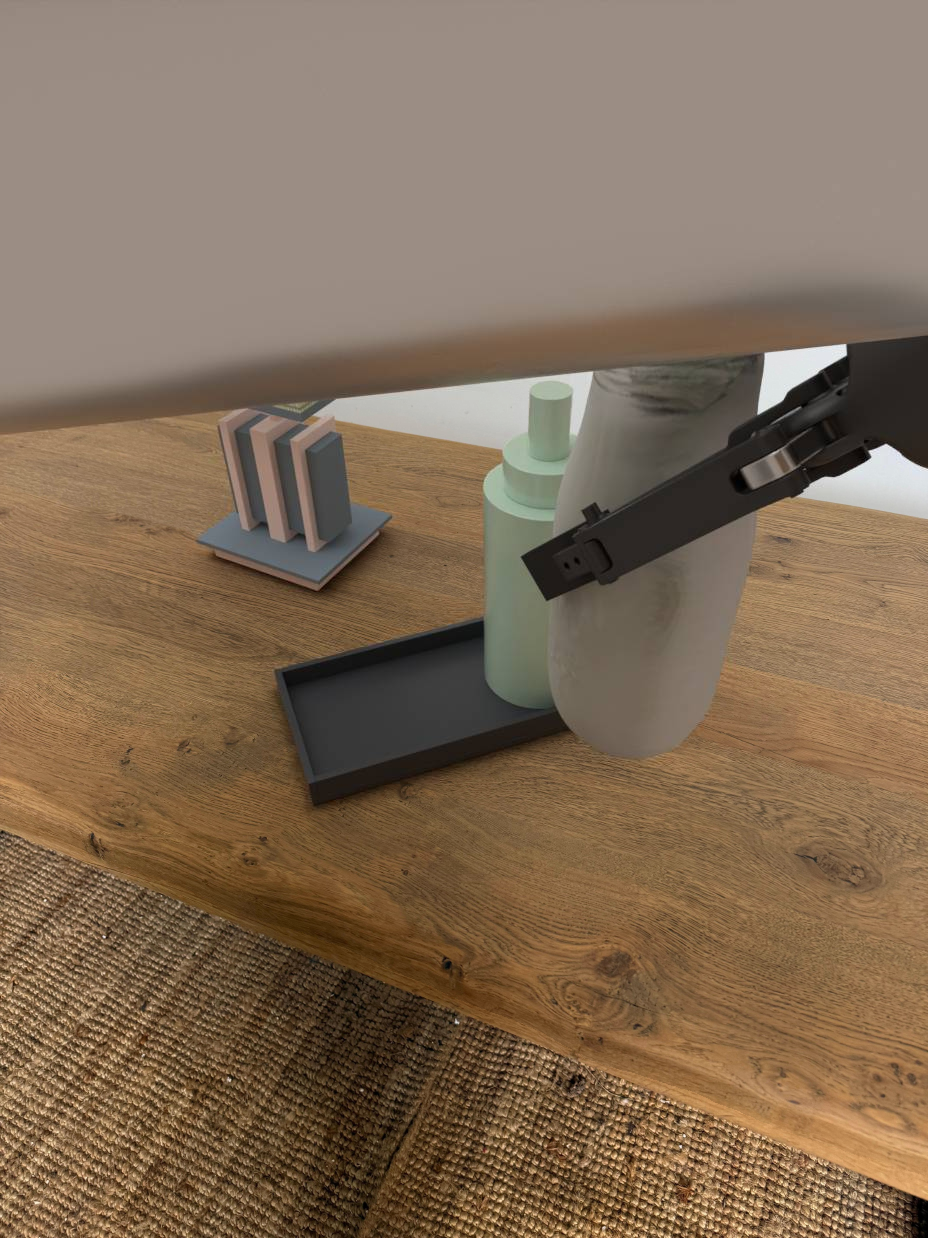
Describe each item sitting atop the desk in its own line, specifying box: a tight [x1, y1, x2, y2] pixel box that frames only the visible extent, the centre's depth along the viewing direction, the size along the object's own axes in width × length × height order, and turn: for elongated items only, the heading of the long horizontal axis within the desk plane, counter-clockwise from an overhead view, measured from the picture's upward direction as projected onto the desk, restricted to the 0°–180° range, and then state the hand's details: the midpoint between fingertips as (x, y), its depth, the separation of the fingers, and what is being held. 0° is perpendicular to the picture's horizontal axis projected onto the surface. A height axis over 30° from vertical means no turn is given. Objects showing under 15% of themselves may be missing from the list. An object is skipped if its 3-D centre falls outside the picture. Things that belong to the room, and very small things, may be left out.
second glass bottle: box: [482, 380, 578, 709], centre depth 72 cm, size 10×10×28 cm
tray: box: [273, 615, 571, 806], centre depth 78 cm, size 31×14×3 cm, turn 111°
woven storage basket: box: [195, 399, 393, 591], centre depth 88 cm, size 18×14×33 cm
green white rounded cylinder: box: [548, 353, 766, 761], centre depth 46 cm, size 10×10×28 cm
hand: (605, 532), depth 48 cm, fingers closed on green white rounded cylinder, 11 cm apart
